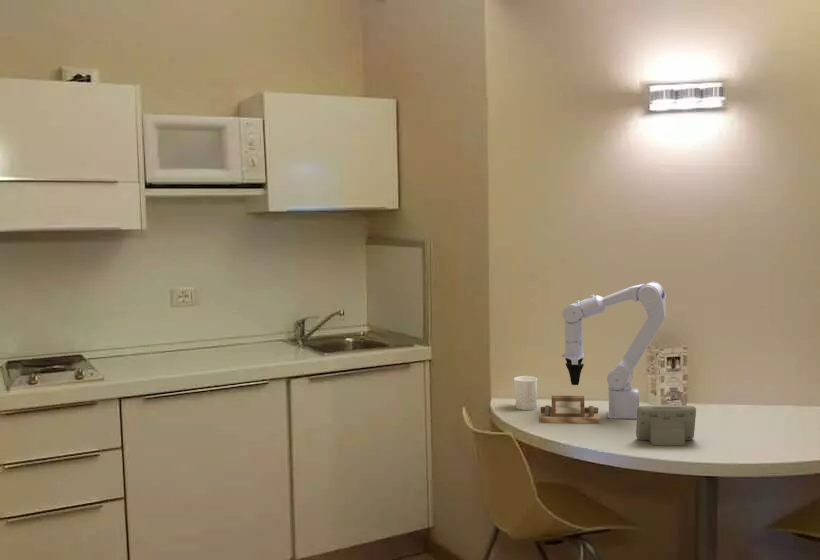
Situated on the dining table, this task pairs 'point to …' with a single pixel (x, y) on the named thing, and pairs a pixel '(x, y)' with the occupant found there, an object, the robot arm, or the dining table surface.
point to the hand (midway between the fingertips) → (574, 382)
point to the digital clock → (666, 424)
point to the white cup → (525, 392)
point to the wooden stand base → (590, 417)
